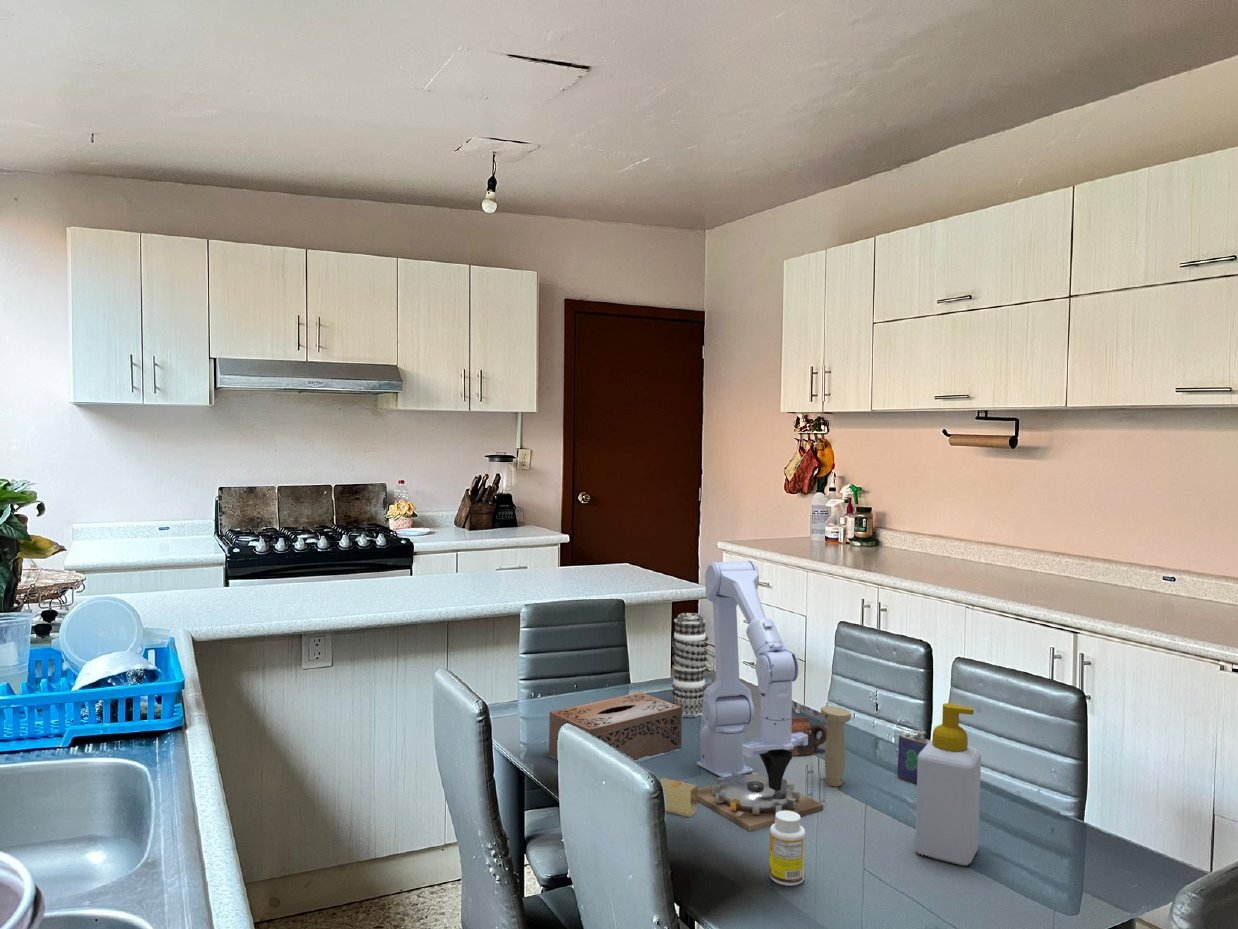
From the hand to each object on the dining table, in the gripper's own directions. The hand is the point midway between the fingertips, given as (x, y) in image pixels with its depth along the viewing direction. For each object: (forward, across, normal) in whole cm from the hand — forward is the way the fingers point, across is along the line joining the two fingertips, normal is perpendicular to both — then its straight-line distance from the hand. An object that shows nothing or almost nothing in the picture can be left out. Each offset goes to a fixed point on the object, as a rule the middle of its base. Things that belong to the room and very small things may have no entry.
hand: (775, 789), depth 167 cm
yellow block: (+5, -15, +11) cm, 19 cm away
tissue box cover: (+4, -9, +42) cm, 43 cm away
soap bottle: (+5, +15, -26) cm, 31 cm away
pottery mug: (+4, +28, +23) cm, 37 cm away
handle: (+5, +20, +5) cm, 21 cm away
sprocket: (+3, 0, +6) cm, 7 cm away
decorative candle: (+4, +22, +57) cm, 61 cm away
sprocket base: (+5, 0, +6) cm, 7 cm away
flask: (+5, +36, -3) cm, 37 cm away
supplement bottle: (+5, -15, -19) cm, 25 cm away
